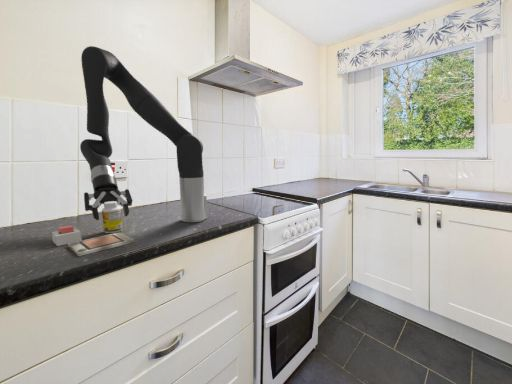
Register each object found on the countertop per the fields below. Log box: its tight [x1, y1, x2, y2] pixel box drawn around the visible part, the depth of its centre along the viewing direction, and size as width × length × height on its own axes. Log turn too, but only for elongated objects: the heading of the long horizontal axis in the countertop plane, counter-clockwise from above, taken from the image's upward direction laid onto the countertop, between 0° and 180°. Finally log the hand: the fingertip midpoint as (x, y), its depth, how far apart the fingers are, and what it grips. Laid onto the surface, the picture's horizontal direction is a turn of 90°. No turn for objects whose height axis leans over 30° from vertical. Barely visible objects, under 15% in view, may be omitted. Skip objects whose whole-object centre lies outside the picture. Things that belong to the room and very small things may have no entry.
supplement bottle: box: [101, 201, 123, 234], centre depth 86 cm, size 6×6×10 cm
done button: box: [57, 224, 74, 234], centre depth 76 cm, size 3×3×2 cm
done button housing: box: [51, 227, 83, 247], centre depth 77 cm, size 6×6×3 cm
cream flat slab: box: [67, 231, 135, 257], centre depth 74 cm, size 14×11×1 cm
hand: (112, 216), depth 85 cm, fingers open, 8 cm apart
